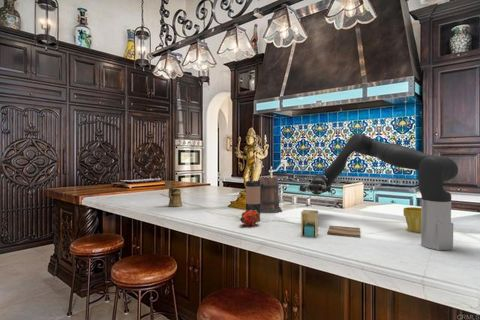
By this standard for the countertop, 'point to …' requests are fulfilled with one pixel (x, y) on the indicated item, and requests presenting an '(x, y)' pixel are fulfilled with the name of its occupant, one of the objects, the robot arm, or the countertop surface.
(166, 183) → the wooden mug
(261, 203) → the tankard
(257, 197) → the travel mug
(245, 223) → the dragon fruit
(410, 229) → the plant pot
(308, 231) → the teal block
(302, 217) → the brass cover
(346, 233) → the walnut board
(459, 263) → the countertop surface
